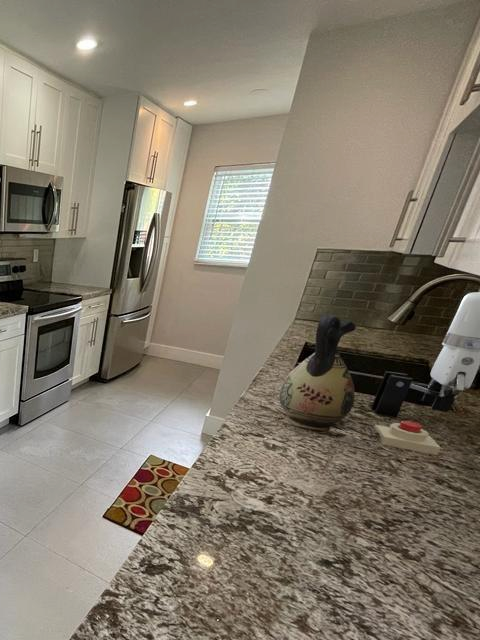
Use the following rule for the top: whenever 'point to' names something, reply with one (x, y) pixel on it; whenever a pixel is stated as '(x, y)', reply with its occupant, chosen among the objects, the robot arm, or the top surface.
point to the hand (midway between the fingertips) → (434, 405)
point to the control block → (407, 439)
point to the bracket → (391, 394)
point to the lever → (424, 389)
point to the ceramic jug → (320, 381)
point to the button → (410, 426)
